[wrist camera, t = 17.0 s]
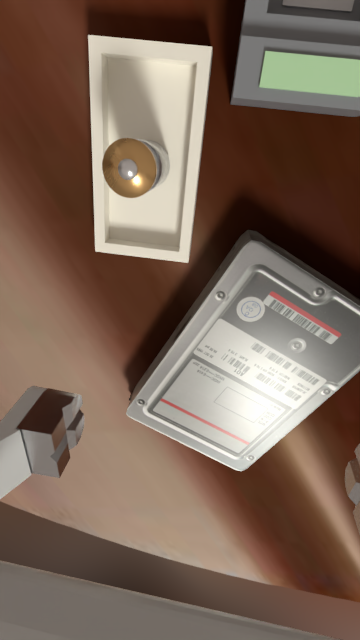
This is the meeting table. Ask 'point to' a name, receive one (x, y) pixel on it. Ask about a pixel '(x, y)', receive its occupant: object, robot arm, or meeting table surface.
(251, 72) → the checker cradle
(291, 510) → the meeting table surface
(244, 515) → the meeting table surface
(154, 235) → the trough
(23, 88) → the meeting table surface
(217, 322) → the hard drive
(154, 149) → the cell
